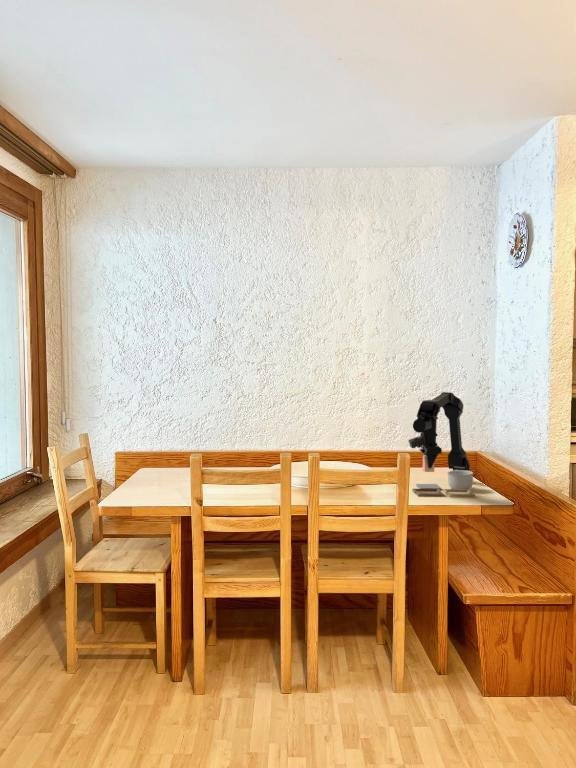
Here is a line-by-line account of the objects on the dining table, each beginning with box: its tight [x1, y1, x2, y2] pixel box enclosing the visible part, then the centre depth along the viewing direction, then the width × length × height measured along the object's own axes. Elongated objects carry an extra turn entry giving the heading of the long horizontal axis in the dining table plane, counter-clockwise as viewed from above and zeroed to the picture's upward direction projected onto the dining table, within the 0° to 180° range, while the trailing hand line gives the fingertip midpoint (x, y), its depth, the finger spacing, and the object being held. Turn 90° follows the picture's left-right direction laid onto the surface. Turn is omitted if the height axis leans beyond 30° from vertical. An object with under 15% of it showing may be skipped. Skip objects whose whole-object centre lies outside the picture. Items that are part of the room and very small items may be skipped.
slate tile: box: [416, 483, 443, 492], centre depth 290 cm, size 9×9×2 cm
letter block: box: [422, 455, 436, 473], centre depth 278 cm, size 4×4×6 cm
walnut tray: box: [412, 488, 445, 498], centre depth 279 cm, size 11×11×2 cm
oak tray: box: [442, 488, 477, 498], centre depth 279 cm, size 11×11×2 cm
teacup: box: [447, 470, 474, 490], centre depth 292 cm, size 14×11×8 cm
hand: (428, 467), depth 279 cm, fingers closed on letter block, 4 cm apart
